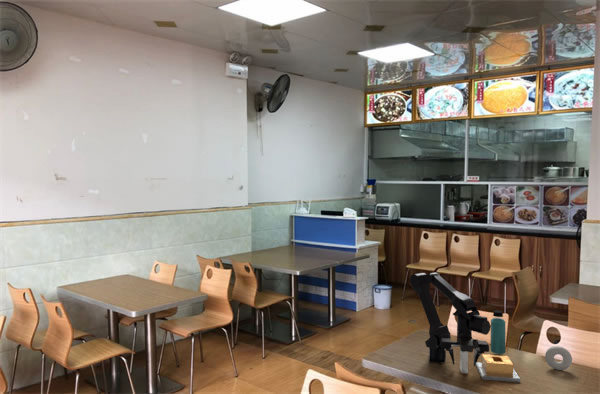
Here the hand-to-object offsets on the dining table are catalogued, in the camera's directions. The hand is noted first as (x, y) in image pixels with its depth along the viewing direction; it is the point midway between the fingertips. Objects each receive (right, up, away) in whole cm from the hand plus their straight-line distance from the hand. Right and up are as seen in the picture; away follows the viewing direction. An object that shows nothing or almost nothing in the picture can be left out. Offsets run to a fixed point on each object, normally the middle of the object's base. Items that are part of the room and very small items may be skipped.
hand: (463, 365), depth 191 cm
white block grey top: (0, -3, 0) cm, 2 cm away
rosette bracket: (+13, -3, -2) cm, 13 cm away
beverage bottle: (+22, -2, +18) cm, 29 cm away
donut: (+40, -3, +1) cm, 40 cm away
